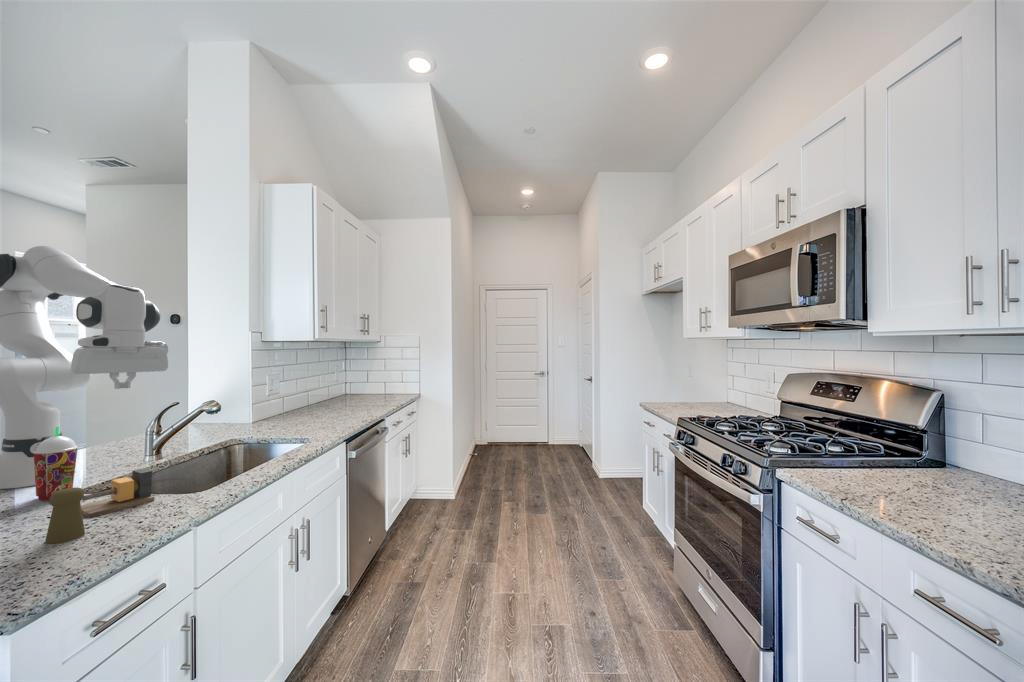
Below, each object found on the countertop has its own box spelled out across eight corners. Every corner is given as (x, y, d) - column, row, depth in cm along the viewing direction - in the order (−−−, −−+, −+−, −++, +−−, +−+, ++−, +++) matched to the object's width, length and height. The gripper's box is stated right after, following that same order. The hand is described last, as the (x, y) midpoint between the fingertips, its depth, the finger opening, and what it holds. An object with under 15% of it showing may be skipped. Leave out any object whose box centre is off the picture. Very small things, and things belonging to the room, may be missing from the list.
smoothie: (70, 498, 110) (73, 427, 111) (25, 505, 106) (28, 430, 106) (80, 489, 117) (83, 422, 118) (38, 495, 113) (41, 425, 113)
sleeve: (110, 498, 108) (111, 480, 108) (125, 494, 110) (126, 477, 110) (118, 501, 105) (119, 483, 106) (133, 498, 108) (134, 480, 108)
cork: (57, 546, 85) (59, 495, 86) (37, 542, 87) (39, 492, 87) (92, 533, 91) (94, 486, 91) (72, 530, 92) (74, 483, 93)
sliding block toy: (75, 510, 103) (76, 479, 103) (139, 494, 115) (140, 466, 115) (89, 517, 99) (90, 486, 99) (154, 500, 111) (155, 472, 111)
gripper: (163, 341, 125) (161, 385, 124) (69, 339, 106) (67, 390, 106) (173, 341, 122) (171, 386, 121) (78, 340, 103) (76, 392, 103)
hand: (122, 388), depth 114 cm, fingers closed
